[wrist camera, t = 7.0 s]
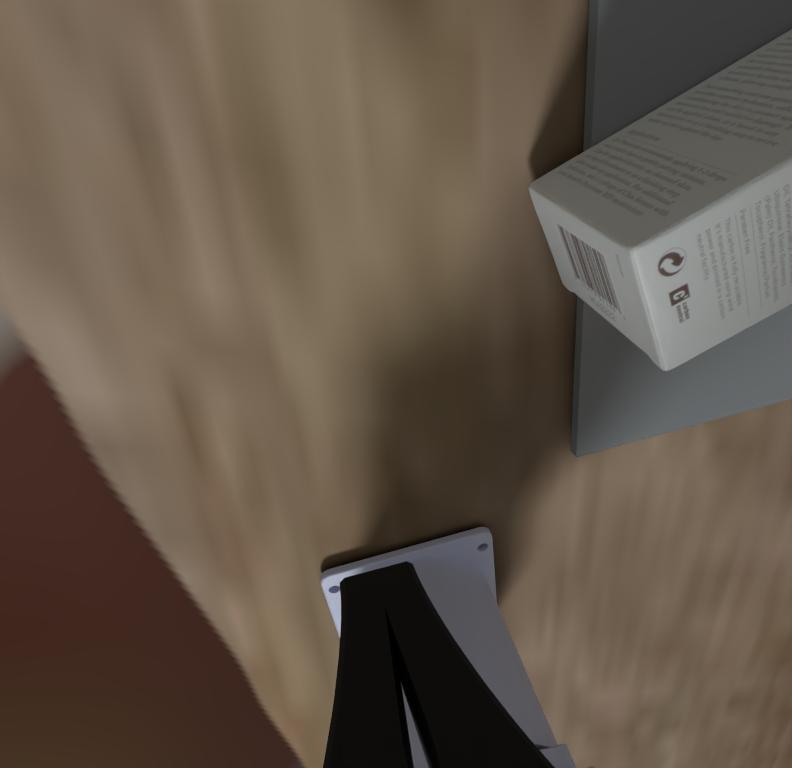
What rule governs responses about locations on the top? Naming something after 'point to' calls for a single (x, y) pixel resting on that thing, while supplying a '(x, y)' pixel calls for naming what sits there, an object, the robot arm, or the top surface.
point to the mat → (604, 116)
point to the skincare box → (684, 212)
